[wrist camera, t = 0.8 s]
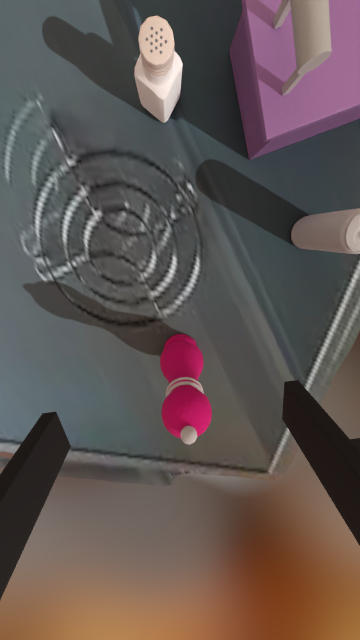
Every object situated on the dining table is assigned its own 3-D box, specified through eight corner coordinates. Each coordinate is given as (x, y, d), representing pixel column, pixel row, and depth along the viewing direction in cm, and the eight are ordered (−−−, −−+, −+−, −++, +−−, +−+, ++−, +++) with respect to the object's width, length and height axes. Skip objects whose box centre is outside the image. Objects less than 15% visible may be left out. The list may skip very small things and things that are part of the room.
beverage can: (283, 239, 36) (335, 242, 24) (301, 209, 34) (365, 197, 23) (307, 253, 36) (368, 262, 25) (325, 224, 35) (399, 220, 24)
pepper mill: (187, 371, 44) (201, 473, 25) (154, 356, 42) (142, 454, 23) (206, 341, 41) (237, 429, 23) (172, 324, 40) (174, 404, 21)
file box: (249, 160, 31) (271, 139, 25) (228, 50, 27) (249, -12, 20) (369, 115, 30) (428, 79, 23) (367, -7, 26) (439, -95, 19)
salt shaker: (155, 71, 28) (148, -6, 19) (182, 95, 29) (187, 33, 20) (138, 105, 29) (125, 47, 20) (165, 127, 30) (163, 81, 21)
